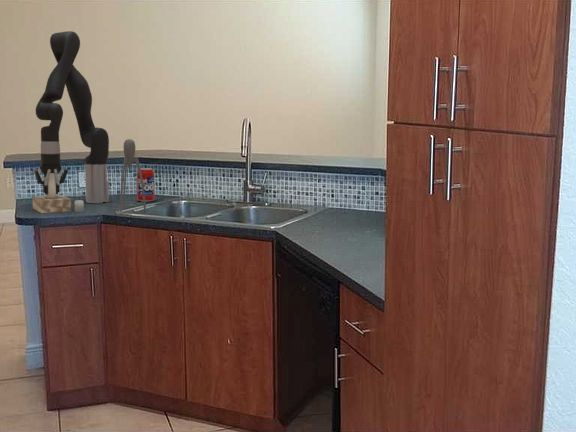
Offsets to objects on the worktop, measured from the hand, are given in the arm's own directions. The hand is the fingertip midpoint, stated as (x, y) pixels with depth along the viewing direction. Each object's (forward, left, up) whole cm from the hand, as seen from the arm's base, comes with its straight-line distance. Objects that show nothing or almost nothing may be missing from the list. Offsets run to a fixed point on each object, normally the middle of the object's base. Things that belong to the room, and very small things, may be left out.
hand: (51, 193), depth 295 cm
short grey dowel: (-9, +8, -7) cm, 14 cm away
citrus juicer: (-26, +17, -7) cm, 32 cm away
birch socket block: (0, 0, -7) cm, 7 cm away
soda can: (-45, -7, -7) cm, 46 cm away
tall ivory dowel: (0, 0, -5) cm, 5 cm away
